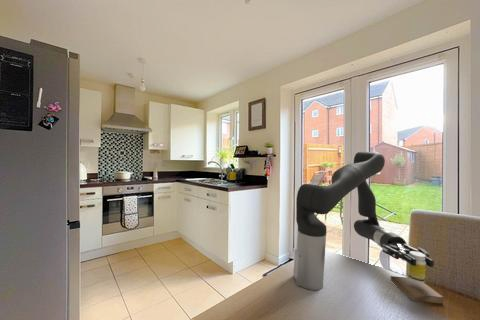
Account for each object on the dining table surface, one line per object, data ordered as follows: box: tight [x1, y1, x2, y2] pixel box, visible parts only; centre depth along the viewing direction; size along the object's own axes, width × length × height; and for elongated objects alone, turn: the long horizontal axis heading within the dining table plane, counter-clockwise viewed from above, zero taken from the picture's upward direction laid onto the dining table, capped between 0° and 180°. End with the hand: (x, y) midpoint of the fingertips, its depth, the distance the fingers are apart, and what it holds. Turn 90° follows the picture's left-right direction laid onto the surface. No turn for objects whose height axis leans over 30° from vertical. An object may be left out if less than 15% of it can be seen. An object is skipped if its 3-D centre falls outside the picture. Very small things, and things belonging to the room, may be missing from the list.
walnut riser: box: [390, 275, 444, 304], centre depth 70 cm, size 9×10×2 cm
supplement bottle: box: [406, 251, 427, 283], centre depth 70 cm, size 5×5×8 cm
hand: (423, 263), depth 67 cm, fingers closed on supplement bottle, 4 cm apart
